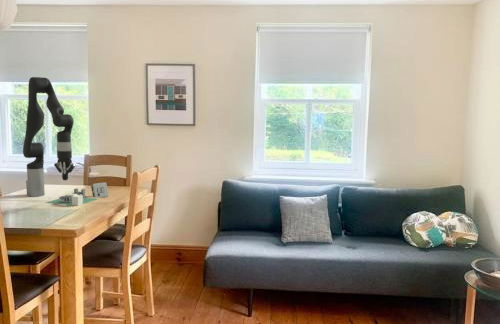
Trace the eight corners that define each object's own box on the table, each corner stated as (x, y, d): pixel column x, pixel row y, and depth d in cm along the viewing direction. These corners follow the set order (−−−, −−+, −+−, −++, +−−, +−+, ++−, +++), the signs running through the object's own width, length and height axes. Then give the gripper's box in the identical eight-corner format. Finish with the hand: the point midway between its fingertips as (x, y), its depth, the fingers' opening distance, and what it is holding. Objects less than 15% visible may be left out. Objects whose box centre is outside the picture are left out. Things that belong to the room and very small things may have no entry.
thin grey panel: (78, 193, 242) (78, 191, 242) (82, 193, 241) (82, 191, 241) (59, 198, 226) (59, 196, 226) (64, 199, 226) (64, 197, 225)
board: (44, 204, 229) (44, 192, 228) (67, 198, 247) (67, 187, 246) (78, 207, 223) (77, 195, 222) (99, 200, 242) (98, 189, 241)
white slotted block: (60, 201, 231) (59, 196, 231) (70, 198, 240) (70, 193, 240) (73, 203, 229) (73, 197, 229) (83, 199, 238) (83, 194, 237)
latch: (65, 204, 225) (65, 194, 224) (70, 203, 229) (70, 193, 228) (78, 205, 223) (77, 195, 222) (82, 204, 227) (82, 194, 226)
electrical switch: (95, 199, 247) (94, 184, 246) (90, 198, 250) (89, 183, 249) (108, 196, 254) (107, 182, 253) (104, 196, 257) (103, 182, 257)
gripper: (49, 149, 224) (50, 180, 226) (69, 151, 221) (70, 182, 223) (59, 148, 231) (60, 178, 233) (78, 149, 228) (79, 179, 230)
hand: (65, 180), depth 228 cm, fingers closed
